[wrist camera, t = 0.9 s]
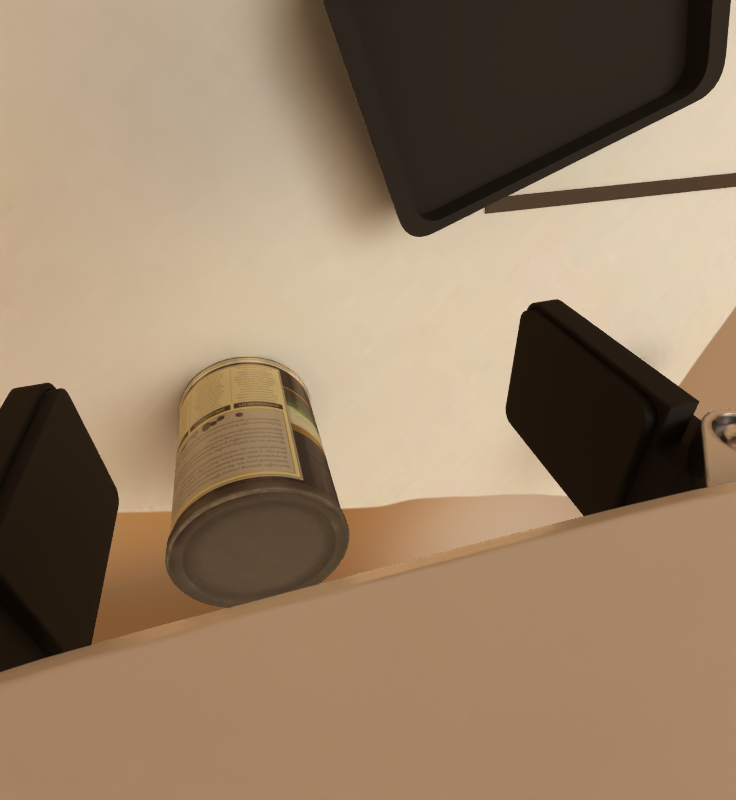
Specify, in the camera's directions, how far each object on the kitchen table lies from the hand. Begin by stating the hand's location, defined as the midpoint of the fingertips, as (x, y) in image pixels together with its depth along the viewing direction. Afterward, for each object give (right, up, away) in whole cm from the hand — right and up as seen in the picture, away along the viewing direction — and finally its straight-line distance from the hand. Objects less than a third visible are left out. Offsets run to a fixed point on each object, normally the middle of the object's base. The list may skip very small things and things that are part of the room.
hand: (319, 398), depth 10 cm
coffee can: (-9, -1, +29) cm, 30 cm away
